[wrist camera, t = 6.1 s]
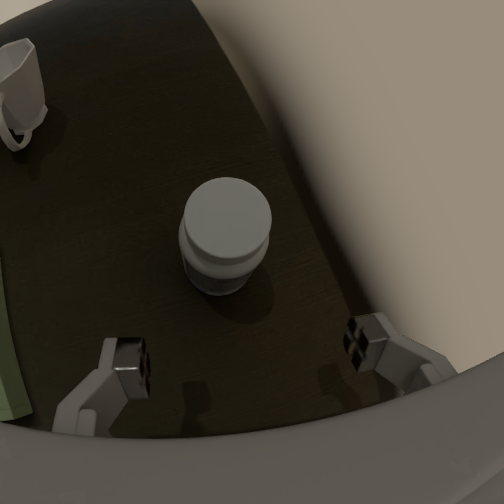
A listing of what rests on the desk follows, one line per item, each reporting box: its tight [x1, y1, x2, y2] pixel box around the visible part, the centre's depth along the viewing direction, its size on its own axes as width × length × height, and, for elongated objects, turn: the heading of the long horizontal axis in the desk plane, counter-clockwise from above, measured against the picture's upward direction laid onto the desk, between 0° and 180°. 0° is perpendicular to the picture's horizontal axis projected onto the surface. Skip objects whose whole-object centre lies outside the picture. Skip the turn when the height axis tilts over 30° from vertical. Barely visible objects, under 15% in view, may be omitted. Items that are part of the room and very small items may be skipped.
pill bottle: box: [178, 177, 272, 296], centre depth 18 cm, size 5×5×8 cm
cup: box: [0, 38, 48, 152], centre depth 18 cm, size 7×10×8 cm
